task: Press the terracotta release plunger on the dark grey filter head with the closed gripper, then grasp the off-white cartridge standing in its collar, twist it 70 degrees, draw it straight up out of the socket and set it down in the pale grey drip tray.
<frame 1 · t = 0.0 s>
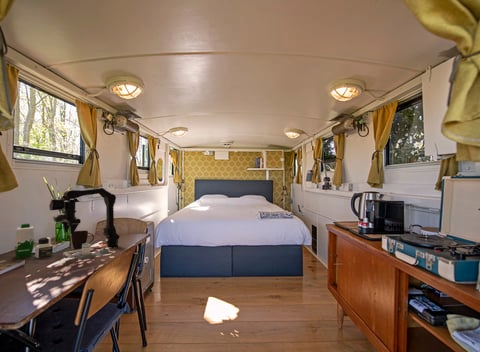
hand: (68, 233, 153), 15 cm above the table, fingers open, 9 cm apart
cup: (82, 248, 170), on the table
tray: (75, 255, 153), on the table
cartridge: (85, 256, 149), point 1 cm above the table, touching filter head
medicine bottle: (43, 257, 150), on the table
filter head: (94, 256, 153), on the table
milk carton: (23, 256, 151), on the table
plunger: (104, 247, 158), point 4 cm above the table, slide at 0.0 cm
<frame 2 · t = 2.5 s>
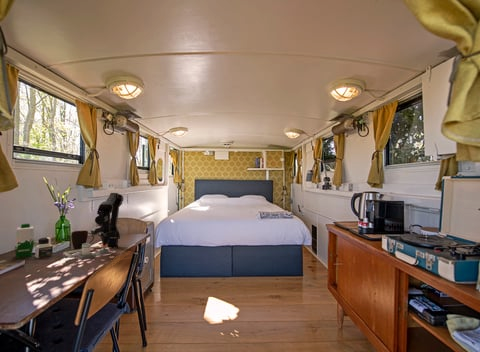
hand: (104, 245, 158), 6 cm above the table, fingers closed, pressing on plunger
plunger: (104, 247, 158), point 4 cm above the table, slide at 0.0 cm, touching gripper
everything else where it was.
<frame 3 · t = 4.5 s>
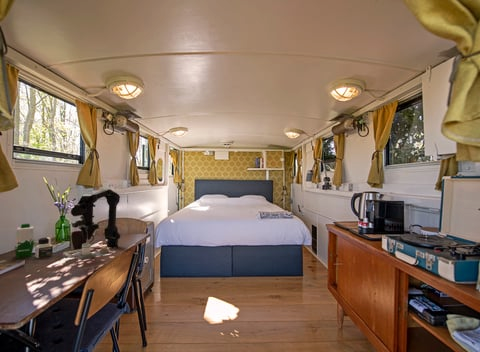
hand: (86, 239, 149), 12 cm above the table, fingers open, 6 cm apart
plunger: (104, 249, 158), point 3 cm above the table, slide at 1.2 cm
everything else where it was.
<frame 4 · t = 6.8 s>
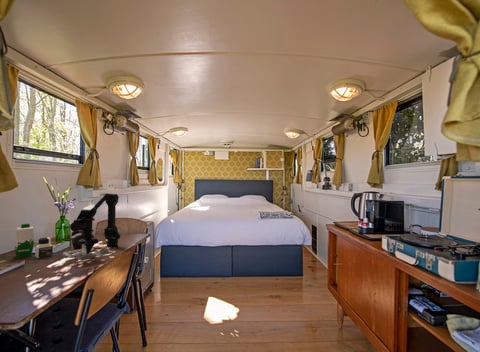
hand: (86, 253, 149), 3 cm above the table, fingers closed on cartridge, 5 cm apart
cartridge: (85, 256, 149), point 1 cm above the table, touching filter head, gripper
everything else where it was.
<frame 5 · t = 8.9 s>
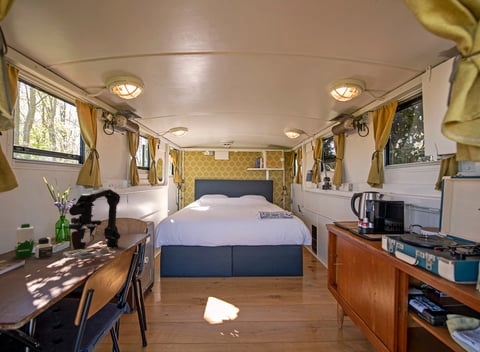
hand: (85, 238, 150), 12 cm above the table, fingers closed on cartridge, 5 cm apart
cartridge: (85, 241, 150), point 10 cm above the table, touching gripper
everything else where it was.
when the fingers open (4 cm above the table, at t = 11.4 s): cartridge drops 2 cm, resting on tray.
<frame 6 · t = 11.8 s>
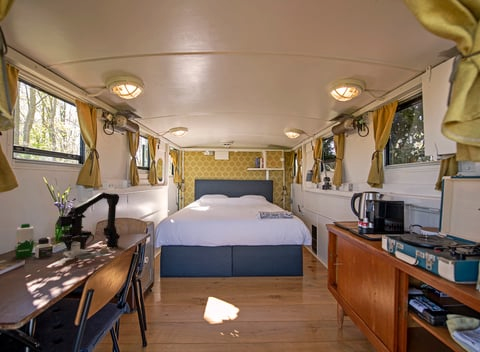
hand: (75, 249, 154), 4 cm above the table, fingers open, 9 cm apart
cartridge: (75, 254, 153), point 1 cm above the table, touching tray
everything else where it was.
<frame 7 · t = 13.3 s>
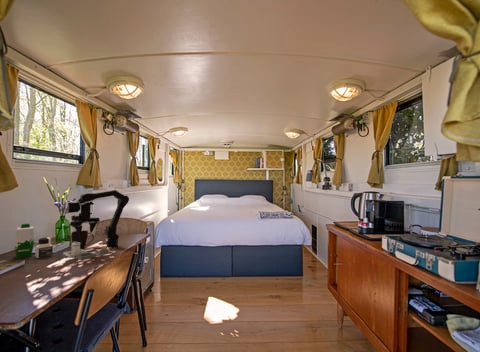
hand: (85, 234, 163), 12 cm above the table, fingers open, 9 cm apart
nothing on the table moved.
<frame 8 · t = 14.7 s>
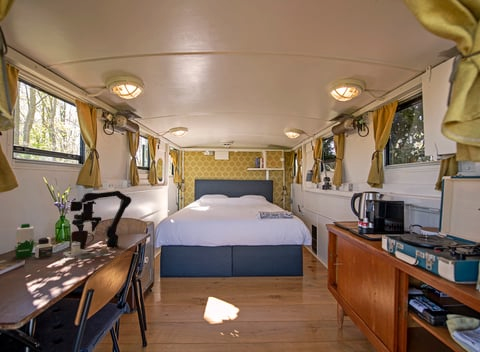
hand: (87, 232, 165), 13 cm above the table, fingers open, 9 cm apart
nothing on the table moved.
at the end: cartridge inside the target area on the tray (0.1 cm from its centre), point 0.6 cm above the tray's base; cartridge tilted 0°; plunger slide at 1.2 cm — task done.
